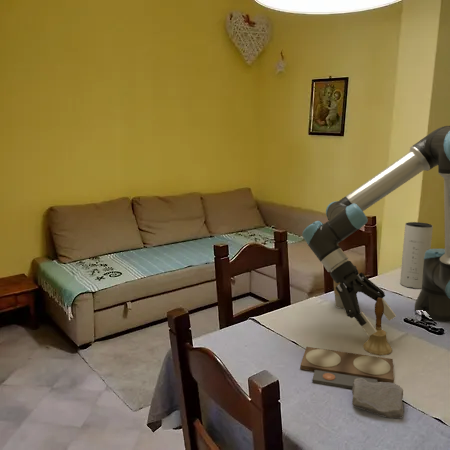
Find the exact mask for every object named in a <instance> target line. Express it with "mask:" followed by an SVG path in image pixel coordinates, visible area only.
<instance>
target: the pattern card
mask: <svg viewBox="0 0 450 450" xmlns="http://www.w3.org/2000/svg"><path fill="white" fill-rule="evenodd" d="M358 379H363V380H365V381H367V382H372V383H378V381H377V379H370V378H364V377H358V376H351V375H345V374H339V373H332V372H326V371H319V370H315V371H313V376H312V379H311V382H312V383H315V384H321V385H326V386H332V387H337V388H344V389H348V390H349V389H350V390H352V388H353V383H354V382H355V381H356V380H358Z"/></svg>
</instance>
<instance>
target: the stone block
mask: <svg viewBox="0 0 450 450" xmlns="http://www.w3.org/2000/svg"><path fill="white" fill-rule="evenodd" d="M351 392H352V399H351V400H352V401H351V403H352V404H351V405H352V406H353V407H354V408H357V409H361V410H363V411H367V412H369V413H372V414H374V415H378V416H381V417H385V418H387V419H392V418H394V419H397V418H399V419H400V418H403V416H404V413H405V410H404V406H403V397H404V389H403V387H401V386H400V385H399V384H397V383H389V382H377V383H372V382H367V381H365V380H363V379H358V380H356V381H355V382H354V383H353V388H352V389H351Z"/></svg>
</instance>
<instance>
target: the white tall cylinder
mask: <svg viewBox="0 0 450 450" xmlns="http://www.w3.org/2000/svg"><path fill="white" fill-rule="evenodd" d="M433 227H434V226H433V225H432V224H431V223H427V222H419V221H418V222H417V221H410V222H409V221H408V222H405V224H404V235H403V244H402V248H403V249H402V257H401V266H400V267H401V268H400V279H399V284H400V285H401V286H403V287H405V288H409V289H413V290H414V289H415V290H416V289H417V290H421V289H422V278H423V265H424V256H425V252H426V251H427V250H429V249H432V248H431V246H432V238H433Z"/></svg>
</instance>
